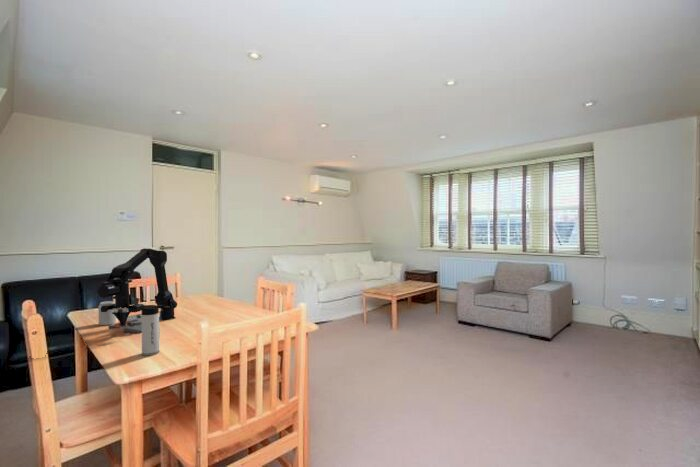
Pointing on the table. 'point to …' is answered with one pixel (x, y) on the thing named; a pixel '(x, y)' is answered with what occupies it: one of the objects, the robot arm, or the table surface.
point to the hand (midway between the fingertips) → (123, 325)
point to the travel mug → (150, 330)
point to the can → (106, 315)
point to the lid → (131, 320)
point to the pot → (131, 327)
